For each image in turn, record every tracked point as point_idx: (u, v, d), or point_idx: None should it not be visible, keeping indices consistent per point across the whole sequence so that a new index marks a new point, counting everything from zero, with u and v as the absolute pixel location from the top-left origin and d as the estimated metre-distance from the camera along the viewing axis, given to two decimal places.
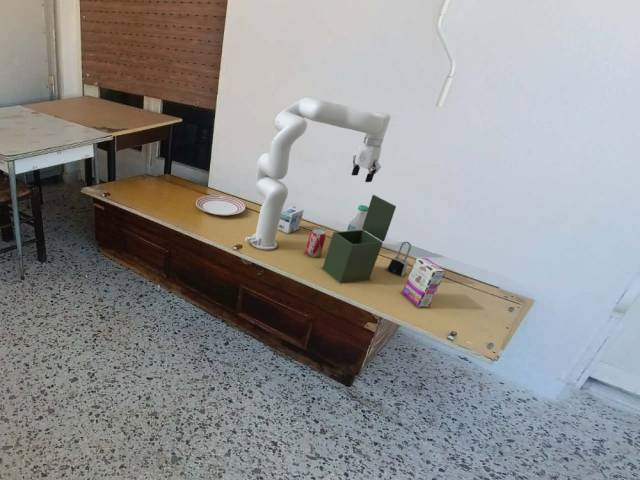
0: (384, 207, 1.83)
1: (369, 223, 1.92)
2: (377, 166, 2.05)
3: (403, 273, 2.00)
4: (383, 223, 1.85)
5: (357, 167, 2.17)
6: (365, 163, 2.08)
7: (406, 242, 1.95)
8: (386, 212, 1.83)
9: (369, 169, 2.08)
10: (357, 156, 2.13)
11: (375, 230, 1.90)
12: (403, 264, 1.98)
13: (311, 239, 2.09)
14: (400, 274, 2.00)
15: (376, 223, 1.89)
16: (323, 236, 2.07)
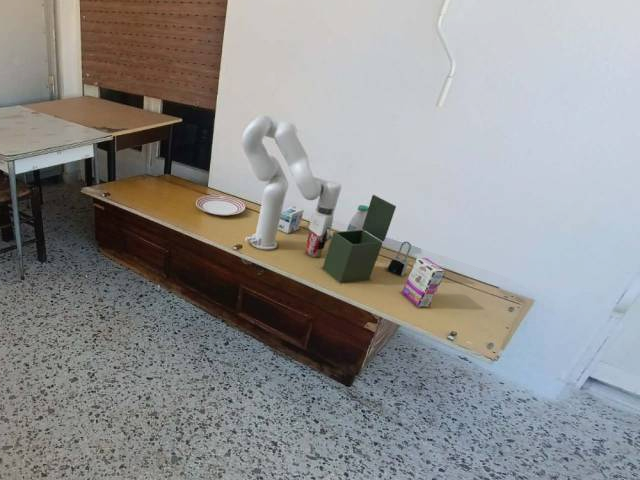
0: (384, 207, 1.83)
1: (369, 223, 1.92)
2: (328, 236, 2.02)
3: (403, 273, 2.00)
4: (383, 223, 1.85)
5: None
6: (318, 231, 2.05)
7: (406, 242, 1.95)
8: (386, 212, 1.83)
9: (321, 237, 2.05)
10: (311, 222, 2.09)
11: (375, 230, 1.90)
12: (403, 264, 1.98)
13: (311, 239, 2.09)
14: (400, 274, 2.00)
15: (376, 223, 1.89)
16: (323, 236, 2.07)
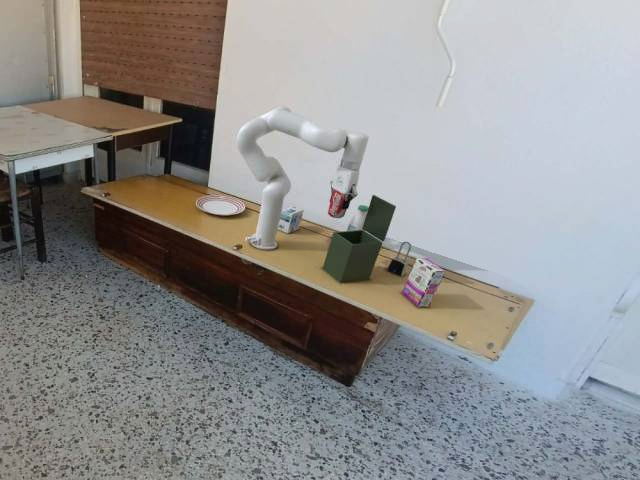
0: (384, 207, 1.83)
1: (369, 223, 1.92)
2: (354, 193, 1.85)
3: (403, 273, 2.00)
4: (383, 223, 1.85)
5: None
6: (342, 188, 1.88)
7: (406, 242, 1.95)
8: (386, 212, 1.83)
9: (345, 195, 1.89)
10: (334, 180, 1.93)
11: (375, 230, 1.90)
12: (403, 264, 1.98)
13: (335, 198, 1.93)
14: (400, 274, 2.00)
15: (376, 223, 1.89)
16: (348, 194, 1.90)
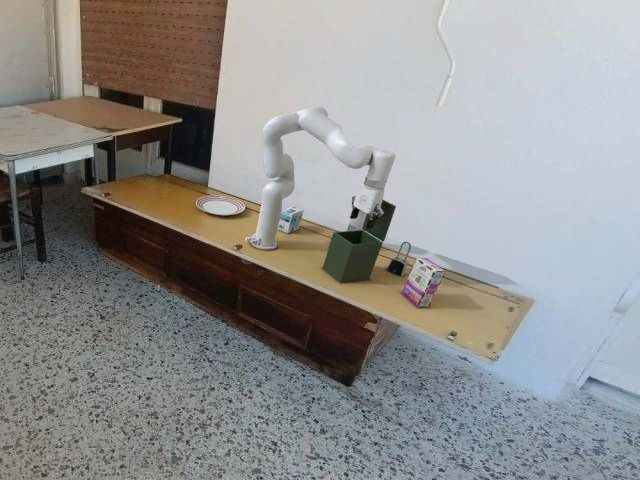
0: (384, 207, 1.83)
1: None
2: (379, 212, 1.76)
3: (403, 273, 2.00)
4: (383, 223, 1.85)
5: (356, 210, 1.89)
6: (365, 207, 1.80)
7: (406, 242, 1.95)
8: (386, 212, 1.83)
9: (370, 214, 1.80)
10: (356, 198, 1.85)
11: (375, 230, 1.90)
12: (403, 264, 1.98)
13: None
14: (400, 274, 2.00)
15: (376, 223, 1.89)
16: None
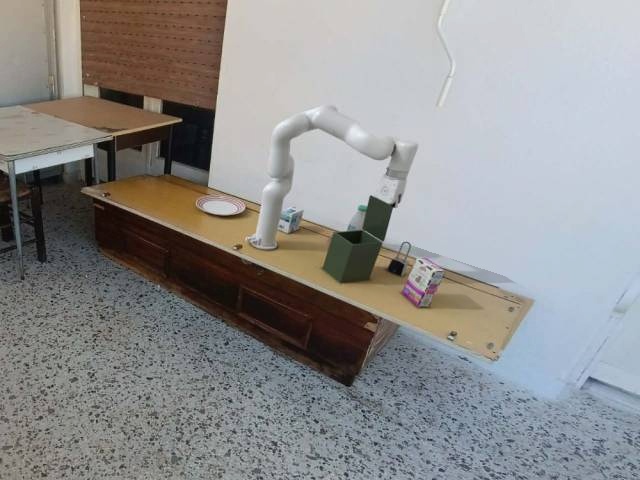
0: (382, 207, 1.83)
1: (368, 223, 1.92)
2: (394, 205, 1.80)
3: (403, 273, 2.00)
4: (382, 223, 1.85)
5: None
6: (387, 198, 1.80)
7: (406, 242, 1.95)
8: (383, 212, 1.83)
9: None
10: (378, 189, 1.85)
11: (375, 230, 1.90)
12: (403, 264, 1.98)
13: None
14: (400, 274, 2.00)
15: (375, 223, 1.89)
16: None
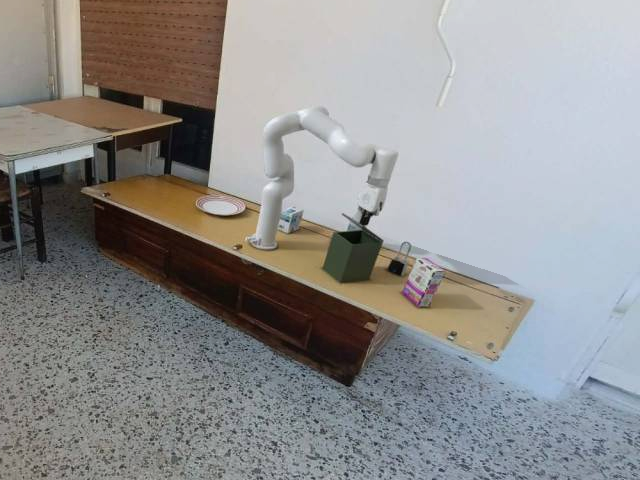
0: (357, 224, 1.85)
1: (361, 228, 1.93)
2: (375, 213, 1.80)
3: (403, 273, 2.00)
4: (369, 232, 1.86)
5: None
6: (369, 206, 1.80)
7: (406, 242, 1.95)
8: (361, 227, 1.84)
9: (367, 212, 1.83)
10: (359, 197, 1.84)
11: (370, 234, 1.90)
12: (403, 264, 1.98)
13: None
14: (400, 274, 2.00)
15: (365, 230, 1.89)
16: None
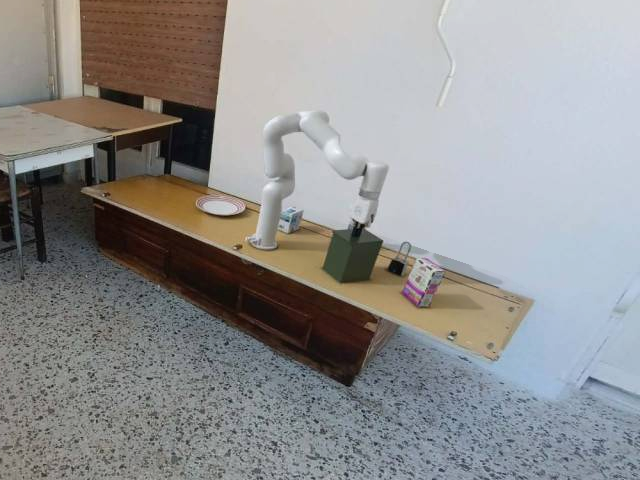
0: None
1: None
2: (367, 225, 1.82)
3: (403, 273, 2.00)
4: None
5: None
6: (360, 217, 1.82)
7: (406, 242, 1.95)
8: None
9: (359, 223, 1.85)
10: (351, 208, 1.86)
11: None
12: (403, 264, 1.98)
13: None
14: (400, 274, 2.00)
15: None
16: None
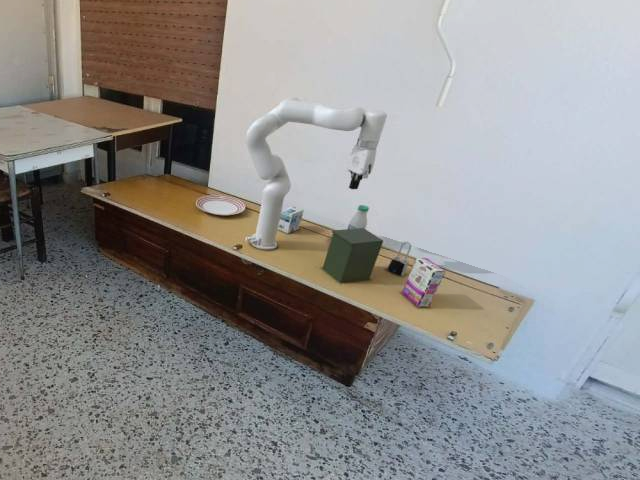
0: None
1: None
2: (364, 176, 1.83)
3: (403, 273, 2.00)
4: None
5: None
6: (358, 168, 1.83)
7: (406, 242, 1.95)
8: None
9: (357, 175, 1.86)
10: (349, 160, 1.87)
11: None
12: (403, 264, 1.98)
13: None
14: (400, 274, 2.00)
15: None
16: None
